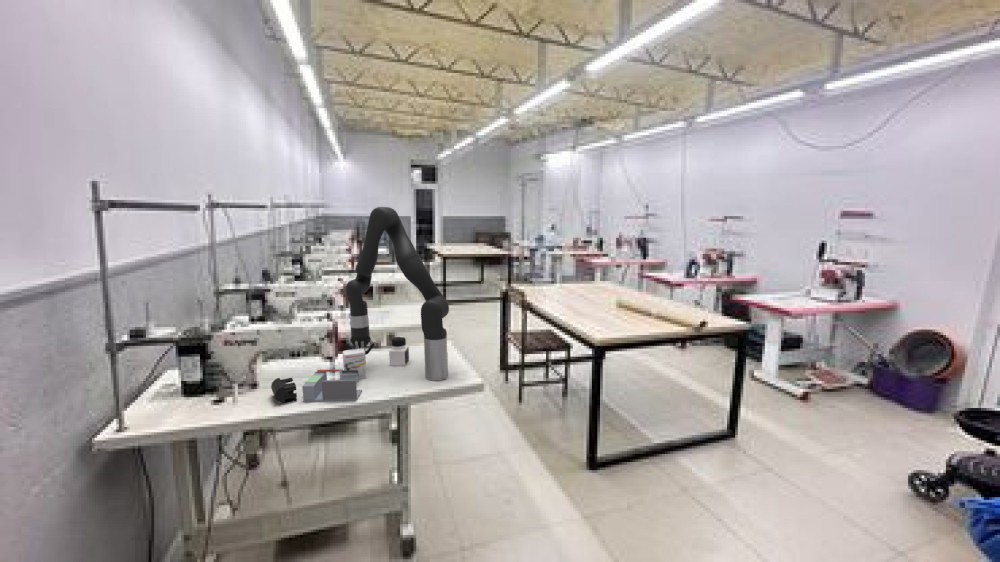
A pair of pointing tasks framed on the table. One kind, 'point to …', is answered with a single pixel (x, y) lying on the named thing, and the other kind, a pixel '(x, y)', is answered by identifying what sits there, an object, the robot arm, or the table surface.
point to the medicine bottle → (399, 352)
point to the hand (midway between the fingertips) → (361, 363)
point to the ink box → (355, 361)
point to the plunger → (345, 374)
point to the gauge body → (329, 389)
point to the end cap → (284, 390)
